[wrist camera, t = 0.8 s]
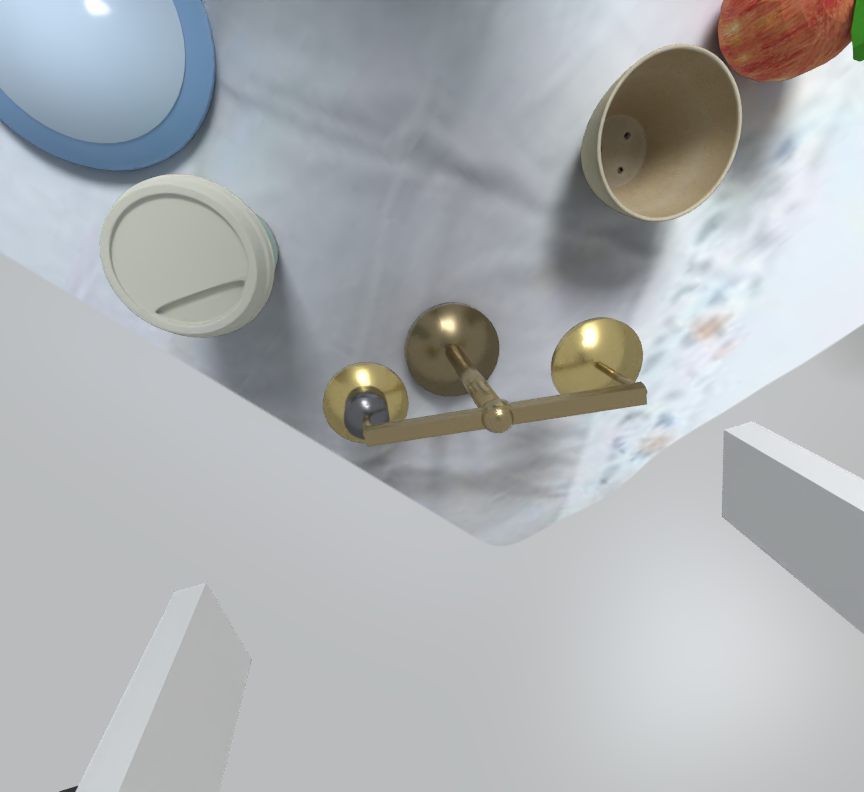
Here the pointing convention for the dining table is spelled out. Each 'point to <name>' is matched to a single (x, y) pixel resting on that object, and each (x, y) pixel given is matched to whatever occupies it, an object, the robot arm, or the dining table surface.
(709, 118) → the flower pot
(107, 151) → the dish
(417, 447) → the dining table surface
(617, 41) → the dining table surface
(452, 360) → the balance
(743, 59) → the fruit
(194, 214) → the coffee cup
